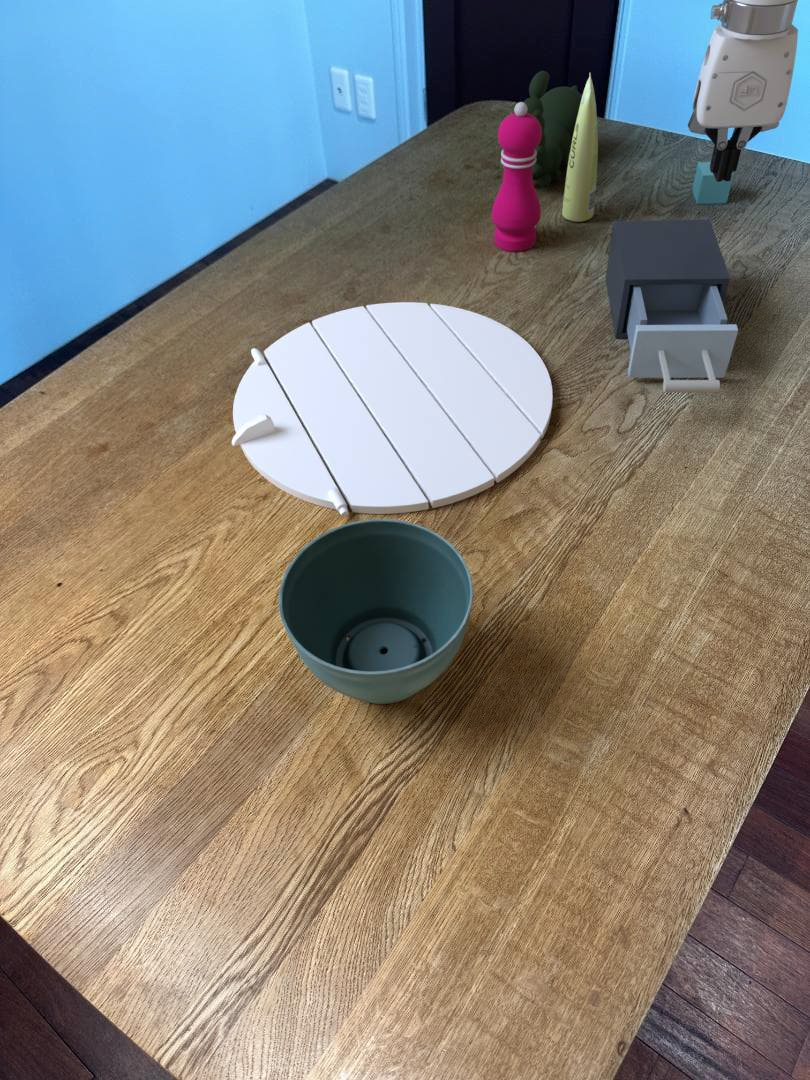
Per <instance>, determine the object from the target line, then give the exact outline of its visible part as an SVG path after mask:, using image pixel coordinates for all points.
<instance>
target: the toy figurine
mask: <svg viewBox="0 0 810 1080" xmlns="http://www.w3.org/2000/svg"><path fill="white" fill-rule="evenodd" d="M549 80H550V73H549V72H547V71H545V70H540V71H539V72H537V73H535V75H534V76H533V77H532V79H531V81H530V83H529V86H528V93H529V97H528V98H526V99H525V100H524V101H522V102H523V103H525V104H526V105H527V113H529V114H531V115H533V116H534V117H536V118H537V119H538V121H539V123H540V125H541V130H542V137H541V141H540V143H539V145H538V146H537V147H536V148H535V149H536V151H537V155H536V163H535V164H534V165H533V169H532V179H533V181H537V183H538V184H539V186H540V188H541V187H542V188H546V187H548V186H550V185H551V183H552V182H555V183H556V182H558V181H560V180H561V178H562V171H561V170H560V169H563V170H564V169H567V168H568V161H569V155H570V149H571V144H572V139H573V134H574V129H575V125H576V120H577V116H578V112H579V107H580V103H581V99H582V95H583V94H581V93H580V92H579V90H578V86H577V85H573V86H571V87H569V86H558V87H555V88H552V89H550V90H549V91H547V89H548V84H549V82H550V81H549ZM546 91H547V92H546Z"/></svg>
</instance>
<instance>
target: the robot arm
mask: <svg viewBox="0 0 810 1080" xmlns="http://www.w3.org/2000/svg"><path fill="white" fill-rule="evenodd" d="M798 1H799V0H723V1H722V3H719V4H717V5H715V4H714V5H712V6H711V9H710V20H717V21H719V22H720V23H721V24H717V25H716V26H715V28H714V29H713V32H712V34H711V37H710V40H709V43H708V45H707V47H706V51H705V54H704V57H703V60H702V64H701V67H700V71H699V74H698V78H697V82H696V86H695V90H694V95H693V100H692V113H691V116H690V119H689V121H688V123H687V127H688V130H689V132H691V133H694V134H696V135H697V134H698V135H702V136H703V135H704V136H707V138H709V140H710V141H711V143H713V145H714V146H713V150H712V154H711V159H710V162H711V163H710V171H711V172H713V174H714V177H715V179H716V181H717V182H721V181H722V180H723V179H724V180H725V181H730V180H731V176H732V172H733V173H734V172H736V171H737V169H738V166H739V165H738V164H739V161H740V157H741V153H742V150H744V149H745V148H746V146H747V145H748V143H749V142H750V141H751V140H752V139H754V138H755V137H756V136H757V135H758V134H760V133H764V132H767V131H771V130H775V129H777V128H778V127H779V125H780V121H781V120H782V119H783V117H784V115H785V112H786V108H787V104H788V100H789V95H790V91H791V86H792V81H793V75H794V68H795V62H796V56H797V48H798V40H799V39H798V37H799V29H798V28H797V27H796V26H795V25H794V24H793V20H794V17H795V13H796V9H797V5H798ZM729 129H733V131H732V134H731V136H730V137H729Z"/></svg>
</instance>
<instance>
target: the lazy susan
mask: <svg viewBox="0 0 810 1080" xmlns="http://www.w3.org/2000/svg"><path fill="white" fill-rule="evenodd" d="M365 306H366V308H365ZM365 306H363V305H362V306H356V307H351V308H347V309H344V310H339V311H336V312H333V313H330V314H327V315H323V316H321V317H318V318H316V319H313V320H312V321H311V323H310V322H306V323H305V324H303V325H300V326H298V327H296V328H295V329H292V330H291V331H289V332H288V333H286V334H284V335H283V336H281V337H279V339H277V340H276V341H274V342H273V343H272V344H270V345H269V346H268V347H267V348H266V349H264V350H263V353H264V354H263V353H262V352H261V351H260V350H259V349H257V347H253V348H252V349H251V350H250V352H251V356H252V358H253V360H254V361H253V362H252V363H251V365H250V366H249V367H248V369H247V370H246V372H245V373H244V375H243V376H242V378H241V380H240V382H239V384H238V387H237V389H236V392H235V395H234V399H233V407H232V421H233V426H234V432H235V434H234V435H233V437H232V439H231V445H232V446H233V447H235V446H240V449H241V450H242V453H243V454H244V456H245V458H246V459H247V461H248V462H249V464H250V465H251V466H252V467H253V468H254V469H255V470H256V471H257V472H258V473H259V474H260V476H262V477H263V478H264V479H265V480H267V481H268V482H269V483H271V484H272V485H273V486H275V487H276V488H278V489H280V490H281V491H283V492H284V493H287V494H289V495H291V496H292V497H295V498H297V499H300V500H302V501H305V502H308V503H310V504H313V505H316V506H319V507H323V508H327V509H331V510H335V511H337V512H338V513H339V514H340V516H341V517H342V518H347V517H348V516H349V514H350V512H349V509H348V506H349V508H350V511H351V512H352V513H356V514H358V513H359V514H372V515H379V514H380V515H388V514H393V515H394V514H405V513H413V512H420V511H427V510H429V509H430V507H429V505H430V506H431V508H432V509H435V508H439V507H444V506H447V505H450V504H454V503H458V502H459V501H460V502H461V501H463V500H466V499H469V498H470V497H473V496H475V495H478V494H480V493H482V492H483V491H486V490H488V489H489V488H492V487H494V486H495V482H496V484H499V483H500V482H501V481H503V480H504V479H506V478H507V477H509V476H510V475H511V474H513V473H514V472H515V471H516V470H518V469H519V468H520V467H521V466H522V465H524V463H525V462H526V461H527V460H528V459H529V458H530V457H531V456H532V455H533V454H534V452H535V451H536V449H538V447H539V446H540V443H541V440H543V438H544V436H545V435H546V433H547V430H548V428H549V424H550V421H551V417H552V411H553V410H552V409H553V401H554V399H553V398H554V396H553V395H554V394H553V393H554V392H553V385H552V379H551V377H550V373H549V370H548V369H547V366H546V365H545V362H544V360H543V359H542V358H541V357H540V355H539V353H538V352H537V351H536V349H534V347H533V346H532V345H531V344H530V343H529V342H528V341H526V340H525V339H524V338H523V337H522V336H521V335H519V334H518V333H516V332H515V331H514V330H512V329H511V328H509V327H507V326H506V325H504V324H502V323H500V322H499V321H496V320H495V319H493V318H491V317H487V316H485V315H483V314H480V313H476V312H474V311H472V310H471V311H470V310H467V309H463V308H459V307H455V306H450V305H444V304H438V303H430V305H429V304H428V303H427V302H415V301H414V302H412V301H411V302H410V301H408V302H407V301H404V302H403V301H402V302H401V301H400V302H384V303H375V304H367V305H365Z"/></svg>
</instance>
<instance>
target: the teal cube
mask: <svg viewBox="0 0 810 1080" xmlns="http://www.w3.org/2000/svg"><path fill="white" fill-rule="evenodd" d="M710 163H711V161H698V162H697V166H696V171H695V176H694V179H693V180H694V181H693V185H692V188H691V189H692V190H691V191H692V194H693V197H694V200H695V203H696V205H711V204H712V205H713V204H714V205H715V204H727V203H728V199H729V195H730V190H731V187H732V183H733V179H734V171H733V172H732V176H731V180H730V181H725V180H724V179H723V180H722V181H721V182H717V181H716V179H715V177H714V174H713V172H711V171H710Z"/></svg>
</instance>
